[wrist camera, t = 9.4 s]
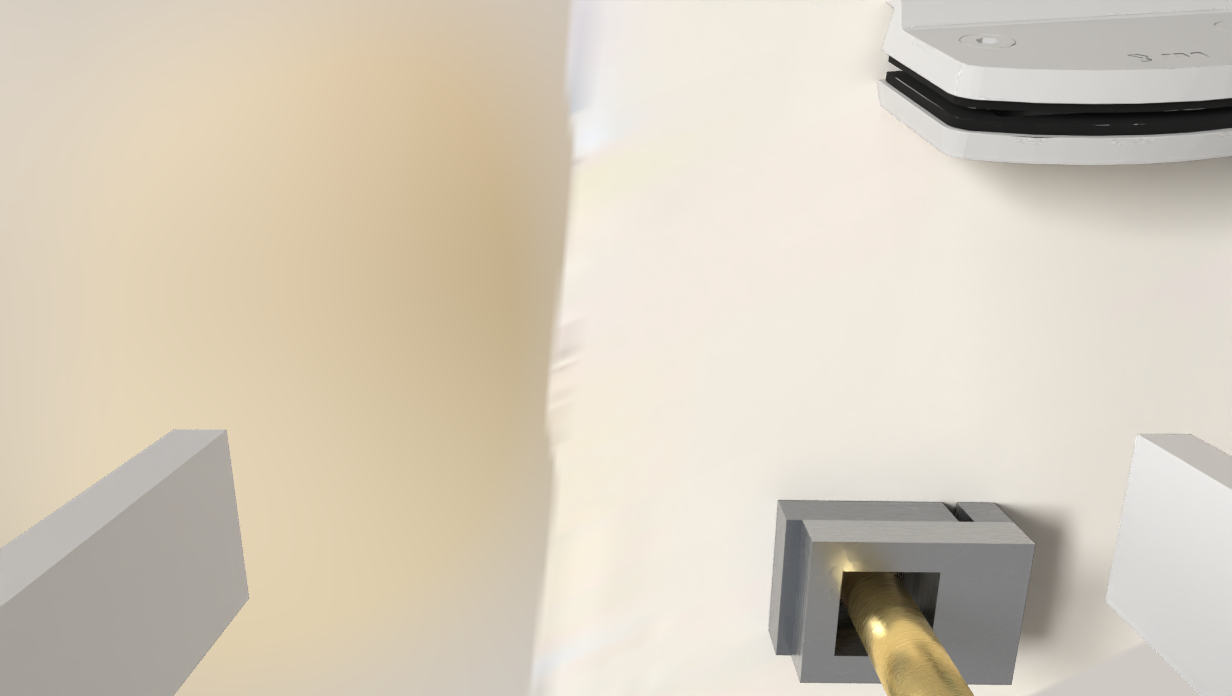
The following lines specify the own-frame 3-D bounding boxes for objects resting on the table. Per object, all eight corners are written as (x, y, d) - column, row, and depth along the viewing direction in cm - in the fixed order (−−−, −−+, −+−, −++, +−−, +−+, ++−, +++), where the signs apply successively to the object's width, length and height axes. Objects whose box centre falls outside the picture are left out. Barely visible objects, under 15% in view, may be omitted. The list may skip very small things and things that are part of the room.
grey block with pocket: (768, 630, 45) (784, 682, 41) (778, 500, 43) (795, 541, 39) (974, 632, 45) (1011, 684, 41) (994, 502, 43) (1035, 543, 39)
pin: (890, 541, 44) (1013, 727, 30) (884, 593, 45) (1001, 796, 31) (832, 540, 44) (928, 725, 30) (827, 592, 45) (918, 795, 31)
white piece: (1251, -30, 36) (1442, 25, 28) (1211, 76, 39) (1374, 155, 31) (878, -11, 36) (960, 50, 28) (864, 94, 39) (935, 177, 31)
